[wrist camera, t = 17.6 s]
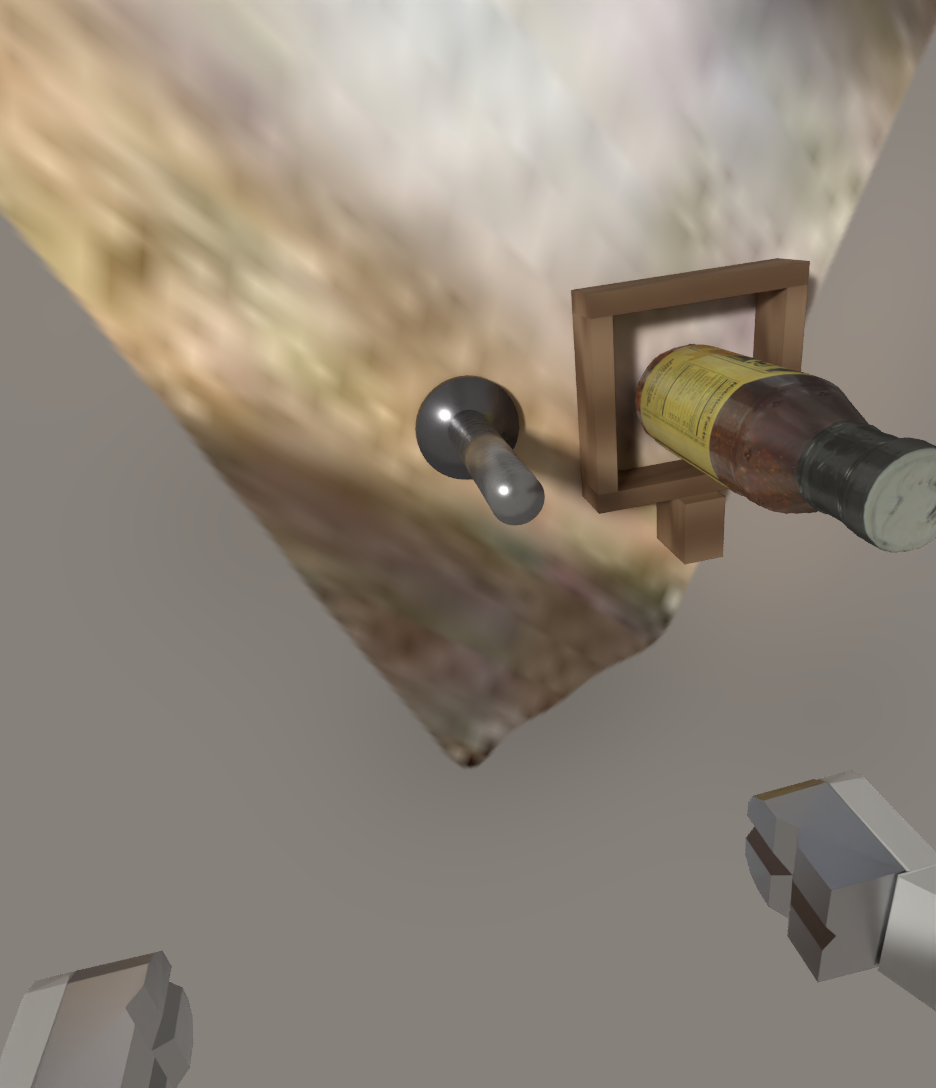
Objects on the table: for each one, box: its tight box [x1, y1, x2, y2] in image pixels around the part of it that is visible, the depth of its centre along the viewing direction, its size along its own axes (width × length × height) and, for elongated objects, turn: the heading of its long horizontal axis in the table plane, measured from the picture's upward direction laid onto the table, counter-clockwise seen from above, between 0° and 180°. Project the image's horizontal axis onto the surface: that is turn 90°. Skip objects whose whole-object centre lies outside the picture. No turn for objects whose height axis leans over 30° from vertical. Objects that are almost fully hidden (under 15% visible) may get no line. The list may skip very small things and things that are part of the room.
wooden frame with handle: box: [571, 258, 810, 564], centre depth 42 cm, size 16×12×4 cm
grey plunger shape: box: [415, 376, 545, 525], centre depth 36 cm, size 6×6×12 cm
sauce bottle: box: [634, 344, 936, 552], centre depth 34 cm, size 7×6×20 cm
